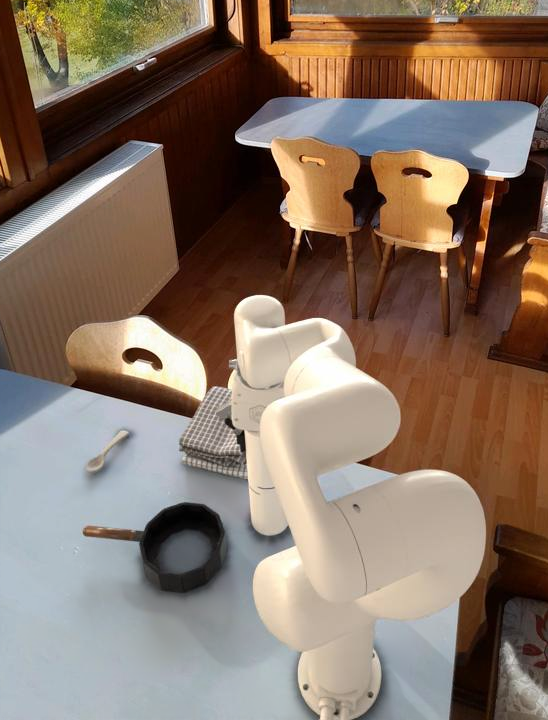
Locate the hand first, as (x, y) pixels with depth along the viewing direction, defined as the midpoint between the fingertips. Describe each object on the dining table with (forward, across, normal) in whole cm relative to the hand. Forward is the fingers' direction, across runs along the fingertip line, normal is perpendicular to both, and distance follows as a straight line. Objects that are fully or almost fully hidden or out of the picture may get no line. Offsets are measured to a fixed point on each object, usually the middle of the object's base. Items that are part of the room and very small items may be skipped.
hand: (266, 447), depth 113 cm
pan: (+20, -20, -8) cm, 29 cm away
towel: (+20, -12, +18) cm, 30 cm away
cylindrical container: (+19, 0, 0) cm, 19 cm away
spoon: (+20, -36, +12) cm, 43 cm away
